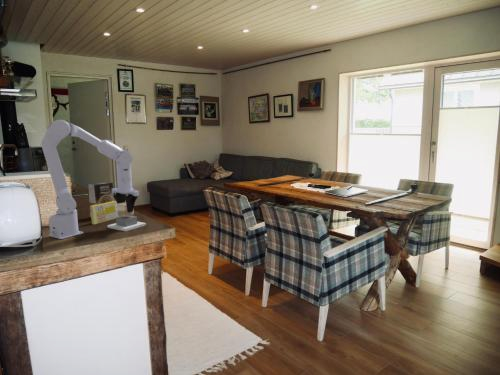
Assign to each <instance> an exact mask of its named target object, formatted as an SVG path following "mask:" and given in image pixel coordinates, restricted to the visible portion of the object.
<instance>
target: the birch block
mask: <svg viewBox="0 0 500 375" xmlns="http://www.w3.org/2000/svg"><path fill="white" fill-rule="evenodd" d="M117 206H118V216H123V217H127V216H135V211H134V210H135V207H134V208H133V212H128V211H127V204H126V201H125V202H124V203H119V204H117Z"/></svg>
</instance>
